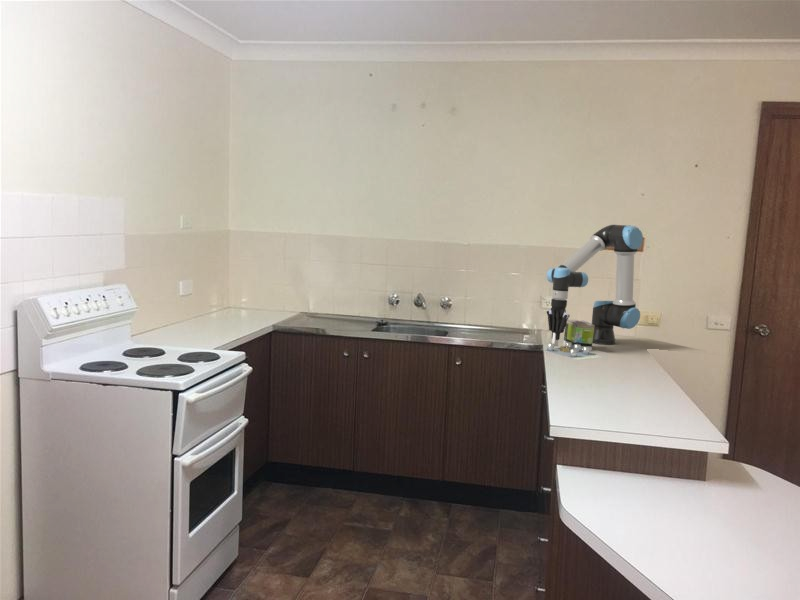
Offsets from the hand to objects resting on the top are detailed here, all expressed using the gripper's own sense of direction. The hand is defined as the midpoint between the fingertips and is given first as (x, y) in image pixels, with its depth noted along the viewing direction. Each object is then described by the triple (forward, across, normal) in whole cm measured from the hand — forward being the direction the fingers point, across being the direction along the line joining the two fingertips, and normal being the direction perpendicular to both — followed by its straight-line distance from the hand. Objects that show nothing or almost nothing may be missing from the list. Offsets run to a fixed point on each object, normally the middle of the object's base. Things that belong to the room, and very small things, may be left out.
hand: (554, 345), depth 332 cm
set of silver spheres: (+2, +10, 0) cm, 10 cm away
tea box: (+3, +1, +16) cm, 17 cm away
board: (+3, +12, 0) cm, 12 cm away
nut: (+2, +6, 0) cm, 7 cm away
